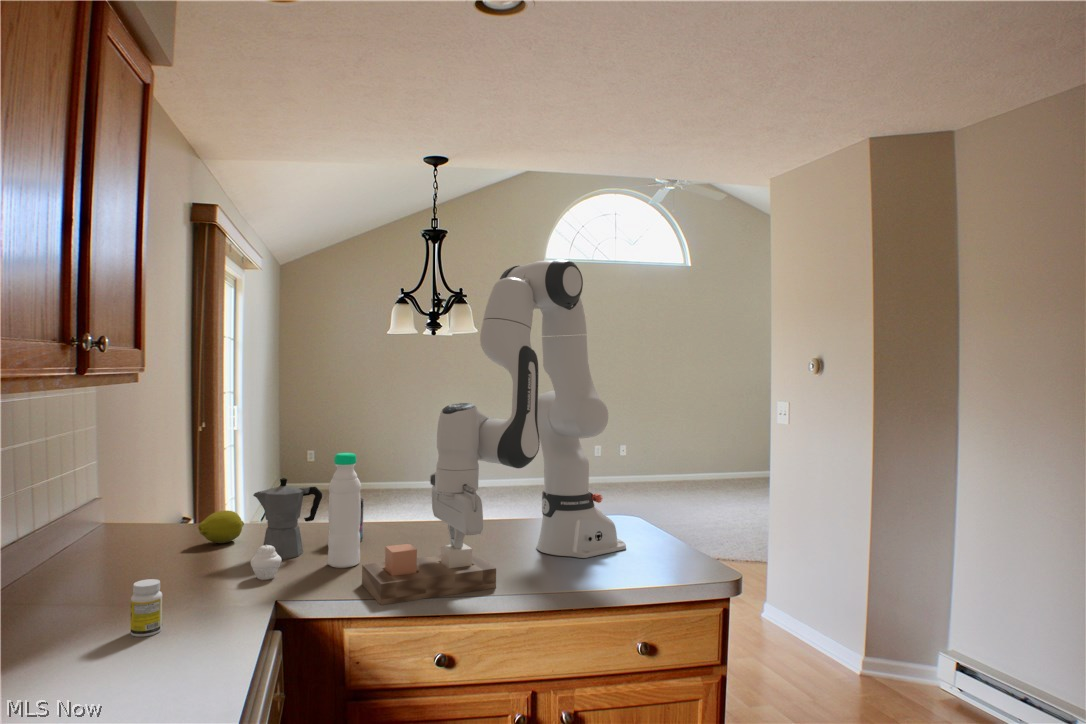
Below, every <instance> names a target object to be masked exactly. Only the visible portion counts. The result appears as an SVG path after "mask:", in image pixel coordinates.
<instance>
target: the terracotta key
mask: <svg viewBox="0 0 1086 724" xmlns="http://www.w3.org/2000/svg"><path fill="white" fill-rule="evenodd" d="M384 547H385V549H384V553H385V554H384V562H385V571H386V572H387V573H388V574H389V575H390V576H396V575H403V574H411V573H417V558H418V554H417V553H418V549H417V548H415V547H414V546H413V545H411V544H410V543H406V544H405V543H403V544H394V545H387V546H384Z"/></svg>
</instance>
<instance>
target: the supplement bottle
mask: <svg viewBox="0 0 1086 724" xmlns="http://www.w3.org/2000/svg"><path fill="white" fill-rule="evenodd" d="M160 590H161V581H160V579H157V578H156V579H155V578H152V579H151V578H150V579H141V580H138V581H135V582H134V583H133V586H132V593H133V594H132V596H130V634H131V636H133V637H137V638H139V637H140V638H141V637H143V638H144V637H150V636H154V635H157V634H159V633H160V632H161V631H162V629H163V592H162V591H160Z"/></svg>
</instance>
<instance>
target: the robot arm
mask: <svg viewBox="0 0 1086 724" xmlns="http://www.w3.org/2000/svg"><path fill="white" fill-rule="evenodd" d="M583 281H584V279H583V275H582V273H581V271H580V269H579V267H578V266H577V264H575V262H573V261H570V260H567V259H560V258H559V259H554V260H538V261H534V262H530V263H526V264H522V265H514V266H511V267H509V268H507V269H506V270H504V272H502V274H501V275H500V278H499V280H497V281H496V282H495V284H494V285H493V287H492V290H491V291H490V294H489V297H488V300H487V303H486V307H485V310H484V314H483V319H482V324H481V328H480V334H479V335H480V338H479V339H480V340H479V341H480V347H481V349H482V351H483V353H484V354H485V356H487V358H488V359H489V360H491V362H493V363H495V364H497V365H499V366H501V367H502V368H503V369H505V370H507V372H508V373H509V374H510V376H511V379H512V394H511V395H512V397H511V414H510V417H509V418H508V419H506V418H505V419H504V418H495V417H490V416H489V415H486V414H484V413H482V412H480V410H478V409H477V406H476V405H475V404H473V403H471V402H470V403H469V402H459V403H453V404H449V405H446V406H445V407H443V408H442V409H441V411H440V413H439V415H438V421H437V429H436V430H437V431H436V450H437V454H438V458H437V461H436V465H435V467H436V469H435V470H436V471H435V472H433V473H431V474H430V475H429V483H430V485H431V486H432V487H431V510H432V514H433V516H434V517H435V518H436V519H438V520H440V521H441V522H443V523H444V524H446V525H447V531H448V535H449V545H451V546H453V547H454V548H456V549H460V548H462V547H463V543H464V538H465V536H474V535H475V536H476V535H481V534H482V532H483V529H484V513H483V501H482V499H481V497H480V496H479V495H478V494H477V491H478V490H479V476H480V474H479V462H486V463H491V464H497V465H503V466H506V467H511V468H513V469H514V468H515V469H522V468H525V467H527V465H529V464H530V463H531V462H533V460H535V458H536V457H537V454H538V453H539V450H540V448H541V450H542V456H543V490H542V492H541V512H542V519H541V527H540V533H539V537H538V541H537V544H536V550H537V551H538V552H541V553H544V554H547V555H552V556H559V557H560V556H561V557H573V558H578V559H579V558H580V559H587V558H591V557H595V556H596V557H597V556H600V555H605V554H609V553H613V552H618V551H623V550H625V549H627V545H626V543H625V542H624V540H621V539H619V538H618V534H617V529H616V528H617V527H616V525H615V522H614V521H613V520H612V519H611V518H609V517H608V516H607V515H606V514H604V513H603V512H602V511H600V510H599V509H598V508H597V507H596V506H595V502H596V503H598V504H599V503H601V502H602V501H603V496H602V494H600V493H592V492H590V491H589V486H590V485H589V482H590V479H589V478H590V477H589V476H590V474H589V473H590V469H589V468H590V464H589V463H590V462H589V459H588V457H587V455H586V454H585V452H584V451H583V448H582V446H581V442H580V439H589V438H594V437H597V436H599V435H600V434H602V433H603V432H604V430H605V429H606V427H607V425H608V422H609V412H608V411H609V410H608V408H607V405H606V404H605V402H604V401H603V400H602V399H601V398H600V396H599V394H598V391H597V390H596V387H595V384H594V381H593V378H592V375H591V370H590V364H589V355H588V354H589V353H588V336H587V334H588V333H587V323H586V316H585V310H584V306H583V301H582V299H581V295H582V293H583V286H584V282H583ZM536 309H537V310H540V312H541V314H542V318H541V319H542V320H541V336H542V337H541V342H542V343H541V344H542V346H541V347H542V348H541V349H542V364H543V365H542V366H543V369H544V371H545V373H546V374H547V375H548V377H549V379H550V381H551V384H552V388H553V390H549V391H546V392H542V393H539V360H538V356H537V352H536V351H535V350H534V349H532V344H531V331H532V324H533V316H534V310H536ZM540 446H541V447H540Z"/></svg>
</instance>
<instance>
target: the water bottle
mask: <svg viewBox="0 0 1086 724" xmlns="http://www.w3.org/2000/svg"><path fill="white" fill-rule="evenodd" d="M356 463H357V455H356V453H352V452H339V453H336V454H335V455H334V466H335V467H336V470H335V471H334V473H333V475H332V478H331V480H330V482H329V484H328V492H329V497H328V521H327V522H328V532H329V533H328V537H327V545H328V551H327V563H328V565H329V566H330V567H333V568H337V569H345V568H346V569H347V568H352V567H354V566H357V565H358V564H359V563H360V561H361V548H360V544H361V541H360V532H359V530H360V517H361V499H360V498H361V489H362V483H361V481H360V479H359V478H358V473H357V472H356V471H355V466H356Z"/></svg>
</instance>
